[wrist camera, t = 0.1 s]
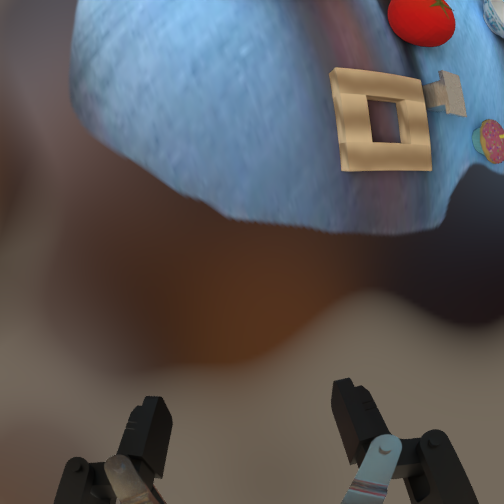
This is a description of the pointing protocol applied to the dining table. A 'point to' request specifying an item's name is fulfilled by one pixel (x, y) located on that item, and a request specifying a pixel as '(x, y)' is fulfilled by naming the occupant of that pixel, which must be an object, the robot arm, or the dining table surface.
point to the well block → (359, 129)
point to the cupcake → (490, 141)
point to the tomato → (422, 21)
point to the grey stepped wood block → (445, 95)
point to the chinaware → (494, 16)
